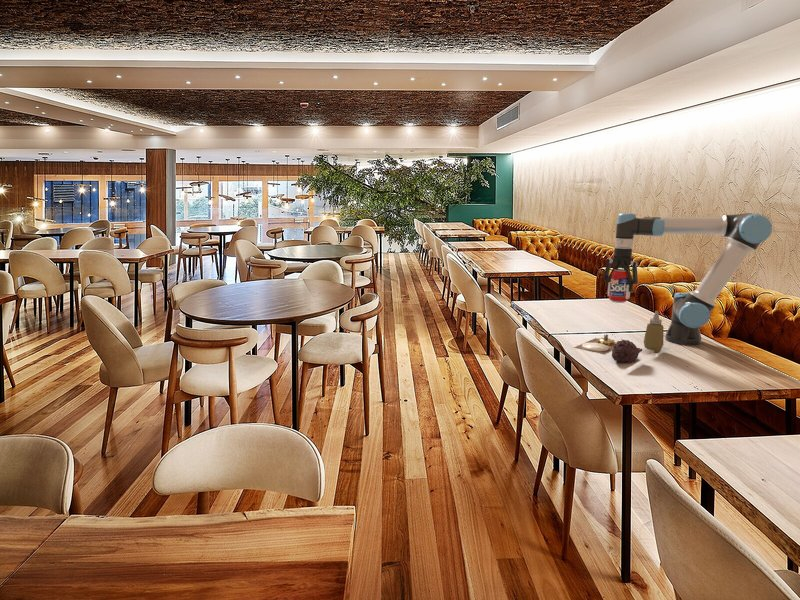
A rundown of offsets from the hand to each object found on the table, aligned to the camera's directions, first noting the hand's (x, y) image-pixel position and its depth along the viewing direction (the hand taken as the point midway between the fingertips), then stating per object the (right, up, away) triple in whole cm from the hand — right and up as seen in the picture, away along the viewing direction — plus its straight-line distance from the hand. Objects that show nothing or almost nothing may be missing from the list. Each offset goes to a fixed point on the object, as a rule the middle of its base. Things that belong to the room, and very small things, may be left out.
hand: (618, 296), depth 247 cm
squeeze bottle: (+11, -24, -10) cm, 29 cm away
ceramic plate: (-15, -23, -11) cm, 29 cm away
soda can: (0, -2, +1) cm, 2 cm away
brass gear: (-7, -21, -4) cm, 23 cm away
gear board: (-12, -23, -8) cm, 27 cm away
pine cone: (-9, -28, -28) cm, 40 cm away
